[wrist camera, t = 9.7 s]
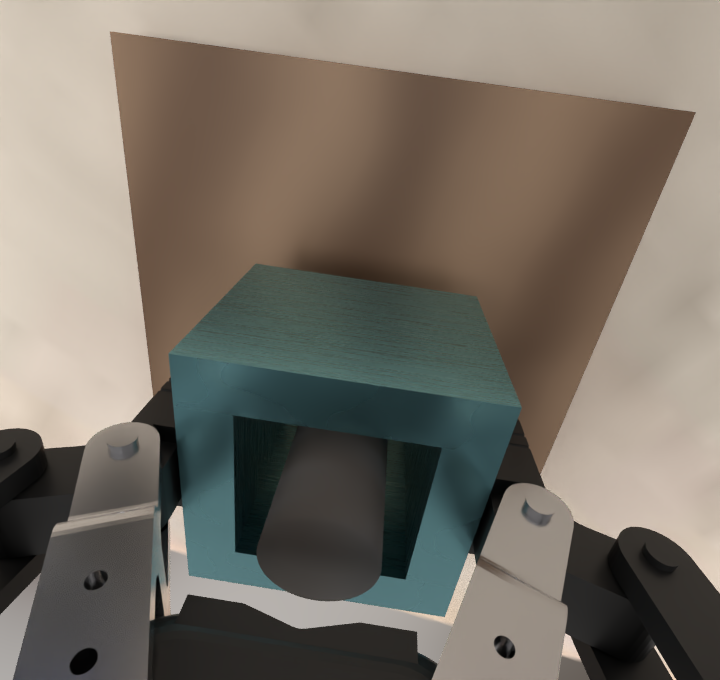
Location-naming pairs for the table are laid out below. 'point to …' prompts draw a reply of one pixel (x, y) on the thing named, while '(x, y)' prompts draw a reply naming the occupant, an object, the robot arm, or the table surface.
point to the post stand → (381, 234)
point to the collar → (341, 418)
